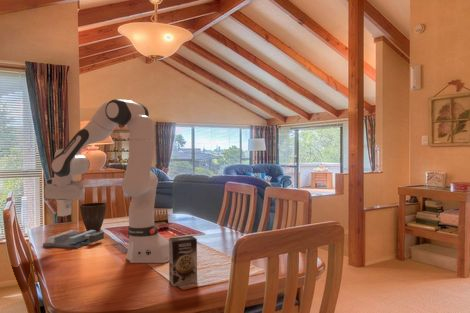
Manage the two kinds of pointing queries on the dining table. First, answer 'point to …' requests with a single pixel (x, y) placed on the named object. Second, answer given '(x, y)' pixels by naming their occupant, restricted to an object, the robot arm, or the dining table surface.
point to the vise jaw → (87, 237)
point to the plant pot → (93, 215)
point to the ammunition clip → (163, 217)
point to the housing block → (63, 208)
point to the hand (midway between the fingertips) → (64, 207)
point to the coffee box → (182, 260)
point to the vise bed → (65, 240)
